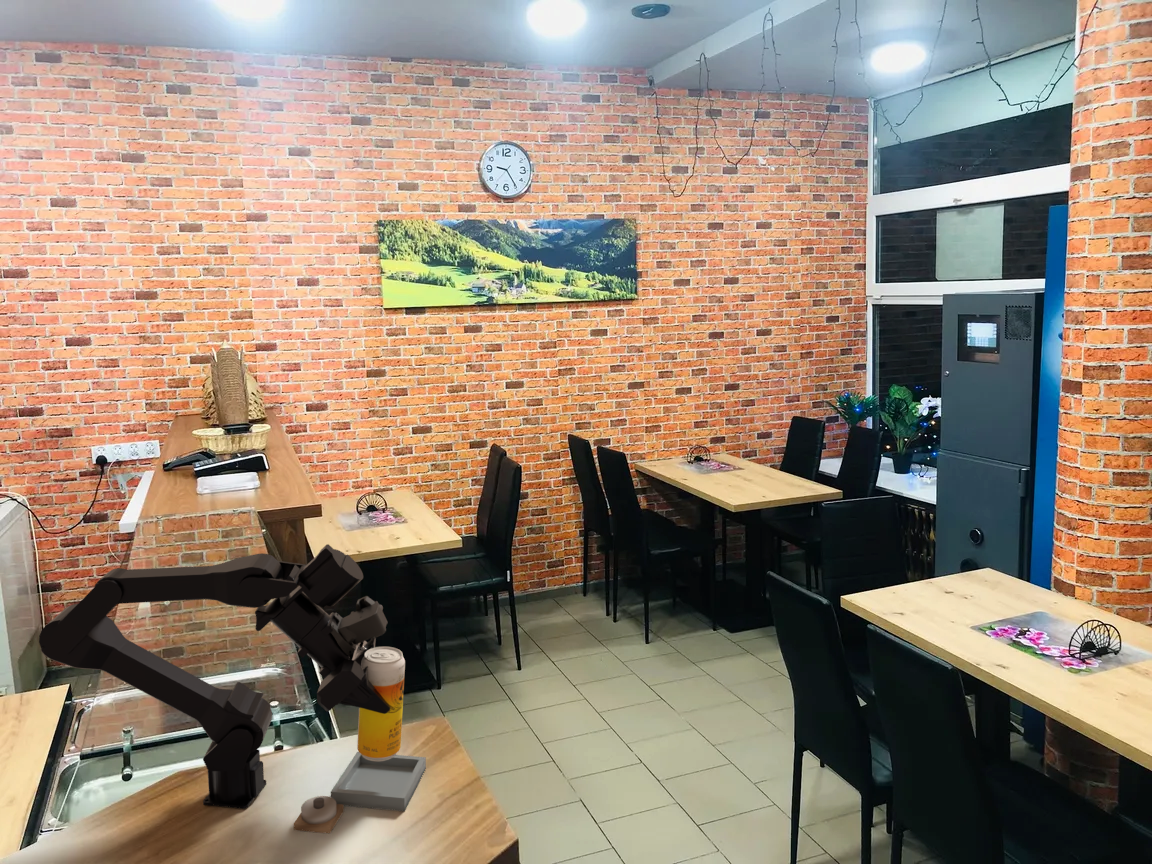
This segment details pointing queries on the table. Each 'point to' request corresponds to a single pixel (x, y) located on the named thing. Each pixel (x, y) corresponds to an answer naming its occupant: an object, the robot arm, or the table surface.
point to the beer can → (387, 677)
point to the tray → (379, 782)
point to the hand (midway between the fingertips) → (390, 700)
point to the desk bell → (318, 815)
